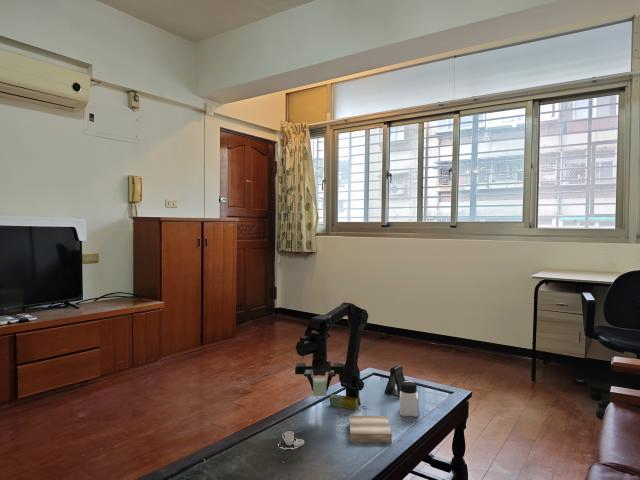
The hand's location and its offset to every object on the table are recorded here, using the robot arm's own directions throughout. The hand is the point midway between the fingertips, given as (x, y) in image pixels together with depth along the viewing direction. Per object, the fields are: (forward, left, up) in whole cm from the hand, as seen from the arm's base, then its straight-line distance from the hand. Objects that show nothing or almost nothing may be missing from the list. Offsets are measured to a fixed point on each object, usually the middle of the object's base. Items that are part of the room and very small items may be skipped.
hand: (320, 390), depth 163 cm
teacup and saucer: (+22, -9, -12) cm, 27 cm away
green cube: (0, 0, -1) cm, 1 cm away
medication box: (-12, +9, -11) cm, 19 cm away
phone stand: (-26, +33, -11) cm, 44 cm away
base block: (+11, +18, -11) cm, 24 cm away
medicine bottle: (-6, +35, -11) cm, 37 cm away
